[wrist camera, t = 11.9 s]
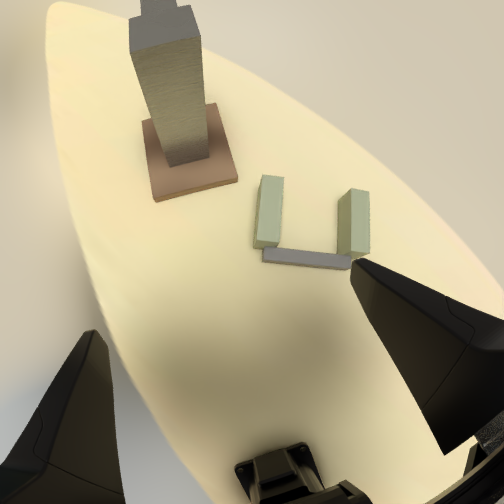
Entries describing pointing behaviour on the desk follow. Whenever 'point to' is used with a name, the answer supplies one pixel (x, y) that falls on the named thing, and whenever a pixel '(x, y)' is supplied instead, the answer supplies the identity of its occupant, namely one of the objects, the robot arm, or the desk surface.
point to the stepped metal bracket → (171, 77)
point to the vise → (348, 247)
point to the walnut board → (191, 174)
